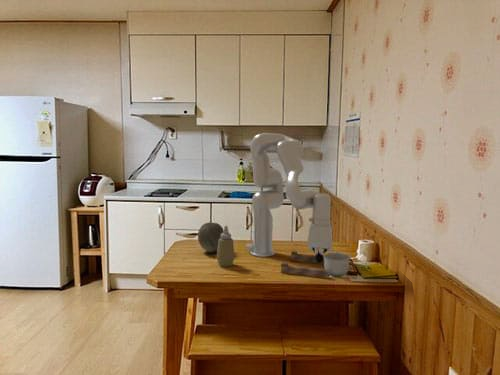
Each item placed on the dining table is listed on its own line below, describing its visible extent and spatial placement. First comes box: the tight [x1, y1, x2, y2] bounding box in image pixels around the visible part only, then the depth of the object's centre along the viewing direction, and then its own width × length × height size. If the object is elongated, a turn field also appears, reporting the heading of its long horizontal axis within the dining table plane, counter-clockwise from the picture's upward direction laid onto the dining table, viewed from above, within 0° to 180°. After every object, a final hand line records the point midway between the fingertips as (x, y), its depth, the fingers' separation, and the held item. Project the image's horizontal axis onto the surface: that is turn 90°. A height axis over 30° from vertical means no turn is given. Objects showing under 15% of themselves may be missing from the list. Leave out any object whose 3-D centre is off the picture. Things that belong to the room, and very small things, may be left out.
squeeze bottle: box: [216, 225, 235, 268], centre depth 174 cm, size 8×8×18 cm
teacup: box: [323, 251, 351, 277], centre depth 167 cm, size 14×11×8 cm
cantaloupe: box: [197, 221, 224, 254], centre depth 195 cm, size 14×14×15 cm
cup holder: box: [280, 251, 330, 279], centre depth 173 cm, size 20×21×4 cm
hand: (319, 262), depth 171 cm, fingers closed
